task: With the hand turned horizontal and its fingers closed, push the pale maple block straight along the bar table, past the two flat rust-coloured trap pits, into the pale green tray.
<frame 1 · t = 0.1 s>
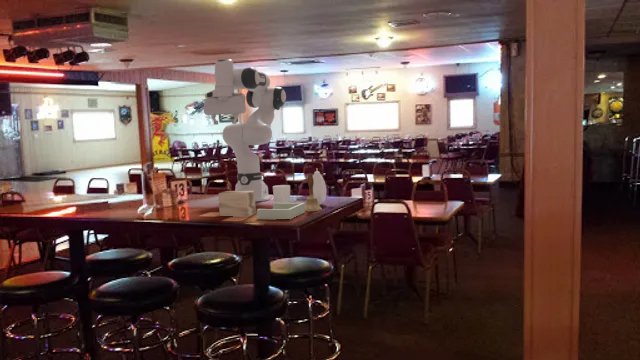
hand: (225, 124, 254), 39 cm above the table, tool pointing down, fingers open, 8 cm apart
white cup: (282, 208, 251), on the table
pale maple block: (238, 215, 234), on the table
hand bell: (312, 210, 241), on the table
pale green tray: (281, 215, 228), on the table
sauce bottle: (318, 205, 256), on the table
trap pits: (227, 215, 234), on the table
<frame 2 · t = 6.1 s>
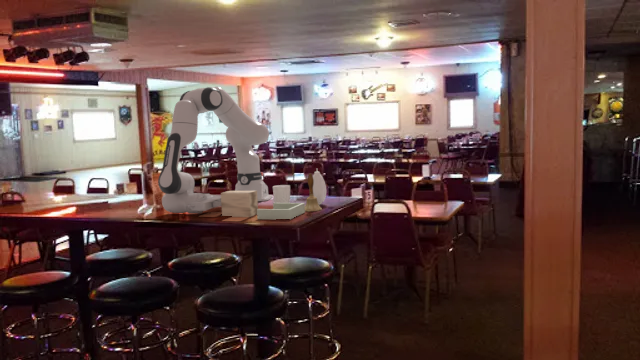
hand: (225, 203, 236), 5 cm above the table, tool horizontal, fingers closed, pressing on pale maple block
pale maple block: (240, 215, 234), on the table, touching gripper
everything else where it was.
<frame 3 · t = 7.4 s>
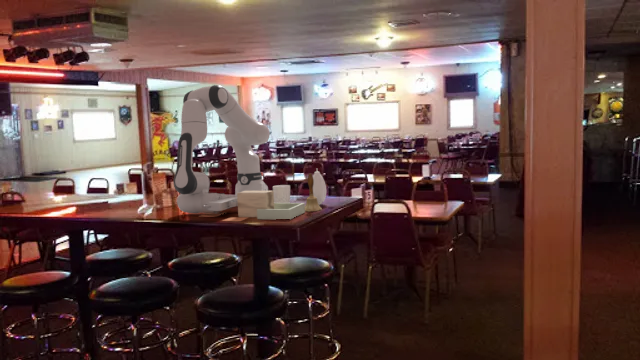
hand: (242, 203, 233), 5 cm above the table, tool horizontal, fingers closed, pressing on pale maple block
pale maple block: (256, 215, 232), on the table, touching gripper
everything else where it was.
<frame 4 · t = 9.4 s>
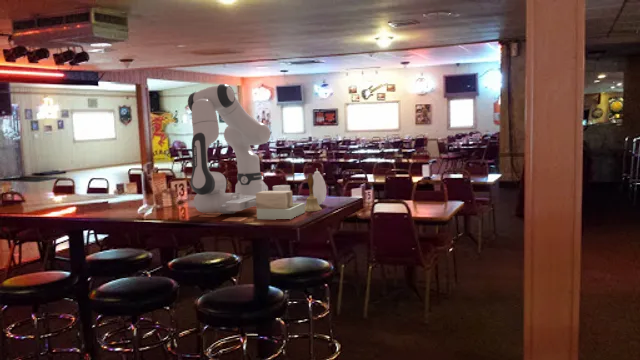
hand: (260, 203, 231), 5 cm above the table, tool horizontal, fingers closed
pale maple block: (275, 215, 229), on the table
everything else where it was.
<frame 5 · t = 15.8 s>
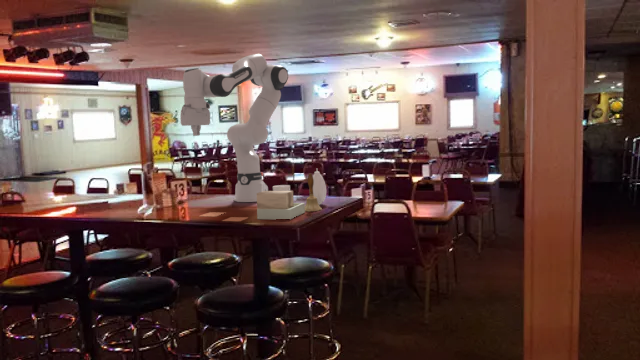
hand: (196, 135, 249), 34 cm above the table, tool pointing down, fingers closed
nothing on the table moved.
at the end: pale maple block inside the target area (1.6 cm from its centre), on the table; pale maple block tilted 0°; pale maple block touching table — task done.
